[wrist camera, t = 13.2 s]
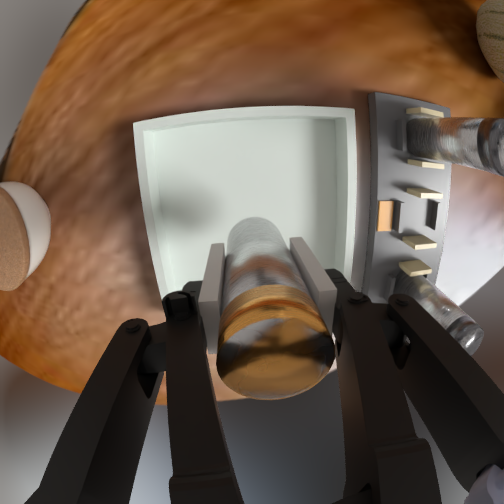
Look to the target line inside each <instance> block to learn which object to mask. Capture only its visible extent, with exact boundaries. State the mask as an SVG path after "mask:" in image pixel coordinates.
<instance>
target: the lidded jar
mask: <svg viewBox="0 0 504 504" xmlns="http://www.w3.org/2000/svg"><path fill="white" fill-rule="evenodd" d="M50 236H51V217H50V212H49V209H48V206H47V205H46V203H45V201H44V200H43V199H42V198H41V196H40V195H39V194H38V193H37V192H36V191H35V190H34V189H33V188H31V187H30V186H28V185H26V184H24V183H20V182H14V181H9V182H1V183H0V289H1V290H4V291H11V290H14V289H16V288H17V287H19V286H20V285H21V284H22V283H23V282H24V280H25V279H26V278H27V277H28V276H29V275H30V274H31V273H32V272H33V271H34V270H35V269H36V268H37V267H38V265H39V264H40V262H41V261H42V260H43V258H44V256H45V254H46V251H47V249H48V246H49V242H50Z"/></svg>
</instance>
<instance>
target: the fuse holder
mask: <svg viewBox="0 0 504 504" xmlns="http://www.w3.org/2000/svg"><path fill="white" fill-rule="evenodd" d="M368 100H369V115H370V135H371V196H370V217H369V232H368V244H367V255H366V264H365V273H364V281H363V288H362V293H363V294H365V295H367V296H368V297H369V298H370V299H371V302H372V303H386V304H387V302H388V298H389V297H390V296H391V295H393V291H394V286H395V280H396V278H395V277H396V275H397V274H398V273H399V272H400V271H402V270H403V271H404V272H405V273H407V274H408V275H409V276H410V277H411V276H418V275H423V276H424V277H426V278H427V279H428V280H429V281H430V282H431V283H433V284H434V285H435V283H436V278H437V274H438V270H439V265H440V260H441V255H442V249H443V244H444V238H445V231H446V224H447V216H448V207H449V197H450V183H451V163H448V162H443V161H438V160H432V159H426V158H420V157H416V156H414V155H412V154H411V153H410V152H409V151H408V149H407V134H406V124H407V122H408V121H410V120H411V119H415V118H441V117H451V116H450V108H447V107H443V106H440V105H436V104H432V103H428V102H424V101H420V100H415V99H411V98H406V97H401V96H396V95H390V94H385V93H378V92H373V93H370V94H368Z"/></svg>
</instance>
